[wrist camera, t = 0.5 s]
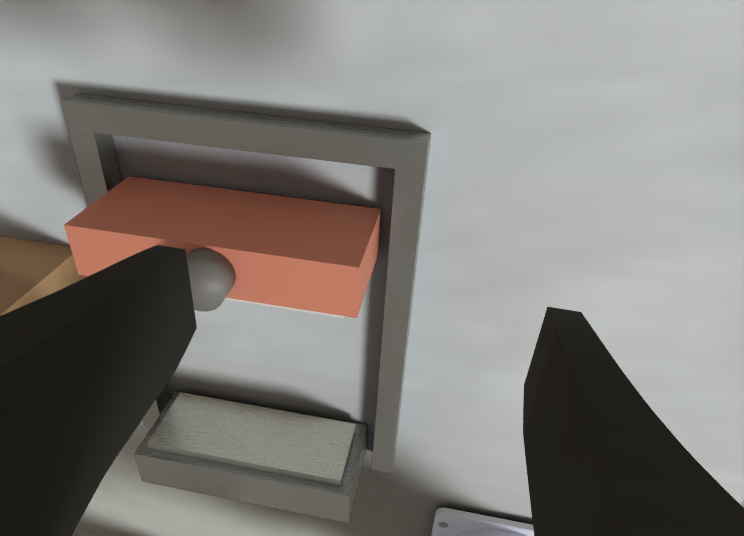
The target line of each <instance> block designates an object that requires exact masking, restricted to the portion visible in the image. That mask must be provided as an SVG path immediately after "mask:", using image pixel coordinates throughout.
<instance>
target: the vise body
mask: <svg viewBox="0 0 744 536" xmlns="http://www.w3.org/2000/svg"><path fill="white" fill-rule="evenodd" d="M61 104H62V108H63V112H64V116H65V120H66V123H67V127H68V131H69V135H70V139H71V143H72V147H73V150H74V154H75V158H76V162H77V166H78V170H79V174H80V177H81V181H82V185H83V189H84V193H85V197H86V201H87V204H88V207H89V206H90V205H91V204H93V203H94V202H95V201H97V200H98V199H99V198H101V197H102V196H103V195H104V194H106V193H107V192H108V191H110V190H111V189H112V188H114V187H115V186H116V185H118V184H119V183H120V182H122V180H121V176H120V171H119V166H118V162H117V157H116V153H115V148H114V143H113V139H112V135H120V136H128V137H136V138H145V139H153V140H161V141H169V142H178V143H186V144H194V145H202V146H210V147H219V148H227V149H235V150H243V151H252V152H260V153H268V154H276V155H285V156H293V157H301V158H309V159H318V160H326V161H334V162H342V163H350V164H359V165H367V166H375V167H383V168H392V169H395V177H394V190H393V203H392V216H391V229H390V241H389V254H388V267H387V280H386V293H385V305H384V318H383V331H382V344H381V357H380V369H379V382H378V395H377V408H376V421H375V433H374V446H373V459H372V470H376V471H381V472H386V473H391V474H392V469H393V463H394V458H395V450H396V441H397V432H398V423H399V414H400V405H401V396H402V387H403V378H404V369H405V360H406V351H407V342H408V333H409V324H410V315H411V307H412V298H413V289H414V280H415V271H416V262H417V253H418V244H419V235H420V226H421V217H422V208H423V199H424V190H425V181H426V173H427V164H428V155H429V146H430V137H431V133H423V132H414V131H405V130H397V129H388V128H379V127H370V126H361V125H352V124H343V123H334V122H325V121H317V120H308V119H299V118H290V117H281V116H272V115H263V114H254V113H246V112H237V111H228V110H219V109H210V108H201V107H192V106H183V105H174V104H166V103H157V102H148V101H139V100H130V99H121V98H112V97H103V96H94V95H86V94H76V95H74V96H72V97H70V98H68V99H66V100H64V101H61ZM143 420H144V424H145V427H149V428H151V429H150V431H149V432H148V434H147V435H146V437H145V438H144V440H143V441H142V443H141V444H140V446H139V447H138V449H137V451H136V452H135V454H134V455H135V458H136V462H137V465H138V469H139V472H140V476H141V479H142V481H143V482H148V483H153V484H158V485H163V486H168V487H173V488H178V489H183V490H187V491H192V492H197V493H202V494H207V495H212V496H217V497H222V498H227V499H232V500H237V501H242V502H247V503H252V504H256V505H261V506H266V507H271V508H276V509H281V510H286V511H291V512H296V513H301V514H306V515H311V516H316V517H320V518H325V519H330V520H335V521H340V522H345V523H349V520H350V515H351V511H352V507H353V503H354V498H355V494H356V490H357V486H358V482H359V477H360V473H361V469H362V465H363V460H364V456H365V452H366V438H367V425H364V424H359V423H353V422H348V421H342V420H337V419H331V418H325V417H320V416H314V415H309V414H303V413H298V412H292V411H287V410H281V409H275V408H270V407H264V406H259V405H253V404H248V403H242V402H237V401H231V400H225V399H220V398H214V397H209V396H203V395H198V394H192V393H187V392H181V391H175V392H174V394H173V395H172V397H171V398H170V400H169V398H168V393H167V389H166V385H165V387H164V388H163V390H162V391H161V393H160V394H159V395H158V397H157V398H156V400H155V401H154V403H153V404H152V406H151V407H150V409H149V410H148V412H147V413H146V414H145V416H144V417H143Z"/></svg>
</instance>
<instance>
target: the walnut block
mask: <svg viewBox="0 0 744 536" xmlns="http://www.w3.org/2000/svg"><path fill="white" fill-rule="evenodd" d="M86 277H88V276H84V275H78V271H77V268H76V264H75V261H74V258H73V254H72V251H71V247H69V246H62V245H56V244H50V243H43V242H37V241H30V240H24V239H17V238H11V237H5V236H0V316H1V315H3V314H6V313H8V312H10V311H13V310H15V309H17V308H20V307H22V306H24V305H26V304H29V303H31V302H33V301H36V300H38V299H40V298H43V297H45V296H47V295H49V294H52V293H54V292H56V291H58V290H61V289H63V288H65V287H67V286H69V285H71V284H73V283H75V282H77V281H80V280H82V279H84V278H86Z"/></svg>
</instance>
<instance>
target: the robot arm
mask: <svg viewBox="0 0 744 536" xmlns="http://www.w3.org/2000/svg"><path fill="white" fill-rule="evenodd" d="M196 328H197V327H196V320H195V313H194V306H193V299H192V292H191V284H190V277H189V270H188V263H187V256H186V249H180V248H174V247H168V246H162V245H156V246H153V247H151V248H148V249H146V250H143V251H141V252H139V253H136V254H134V255H132V256H130V257H128V258H126V259H123V260H121V261H119V262H117V263H115V264H113V265H111V266H109V267H107V268H105V269H103V270H101V271H98V272H96V273H94V274H92V275H90V276H88V277H86V278H84V279H82V280H80V281H77V282H75V283H73V284H71V285H69V286H67V287H65V288H63V289H61V290H58V291H56V292H54V293H52V294H49V295H47V296H45V297H43V298H40V299H38V300H36V301H33V302H31V303H29V304H26V305H24V306H22V307H20V308H17V309H15V310H13V311H10V312H8V313H6V314H3V315H1V316H0V536H72V534H73V532H74V530H75V528H76V526H77V524H78V522H79V521H80V519H81V517H82V515H83V513H84V512H85V510H86V508H87V506H88V504H89V502H90V501H91V499H92V497H93V495H94V493H95V491H96V490H97V488H98V486H99V484H100V482H101V480H102V479H103V477H104V475H105V474H106V472H107V471H108V469H109V467H110V466H111V464H112V463H113V461H114V460H115V458H116V456H117V455H118V454H119V452H120V451H121V449H122V448H123V446H124V445H125V443H126V442H127V441H128V439H129V438H130V436H131V435H132V433H133V432H134V430H135V429H136V427H137V426H138V425H139V423H140V422H141V420H142V419H143V417H144V416H145V414H146V413H147V412H148V410H149V409H150V407H151V406H152V404H153V403H154V401H155V400H156V398H157V397H158V395H159V394H160V393H161V391H162V390H163V388H164V387H165V385H166V384H167V382H168V381H169V379H170V378H171V376H172V375H173V373H174V372H175V370H176V369H177V367H178V365H179V363H180V361H181V359H182V357H183V355H184V353H185V351H186V349H187V347H188V345H189V343H190V341H191V339H192V336H193V334H194V332H195V330H196ZM523 436H524V446H525V456H526V465H527V474H528V484H529V493H530V502H531V511H532V520H533V525H532V524H527V523H522V522H516V521H511V520H506V519H501V518H496V517H491V516H486V515H481V514H476V513H470V512H465V511H460V510H455V509H450V508H439V509H437V510H436V513H435V518H434V523H433V528H432V534H431V536H744V508H743V507H742V506H741V505H740V504H739V503H738V502H737V501H736V500H735V499H734V498H733V497H732V496H731V495H730V494H729V493H728V492H727V491H726V490H725V489H724V488H723V487H722V486H721V485H720V484H719V483H718V482H717V481H716V480H715V479H714V478H713V477H712V476H711V475H710V474H709V473H708V472H707V471H706V470H705V469H704V468H703V467H702V466H701V465H700V464H699V463H698V462H697V461H696V460H695V459H694V458H693V457H692V455H691V454H690V453H689V452H688V451H687V450H686V449H685V448H684V447H683V446H682V445H681V443H680V442H679V441H678V440H677V439H676V438H675V437H674V435H673V434H672V433H671V432H670V431H669V429H668V428H667V427H666V426H665V425H664V424H663V422H662V421H661V420H660V419H659V418H658V417H657V415H656V414H655V413H654V412H653V411H652V409H651V408H650V407H649V406H648V404H647V403H646V402H645V401H644V399H643V398H642V397H641V395H640V394H639V393H638V391H637V390H636V389H635V387H634V386H633V385H632V384H631V382H630V381H629V380H628V378H627V377H626V376H625V374H624V373H623V371H622V370H621V369H620V367H619V366H618V364H617V363H616V362H615V360H614V359H613V357H612V356H611V355H610V353H609V352H608V350H607V349H606V347H605V346H604V344H603V343H602V342H601V340H600V339H599V337H598V336H597V334H596V333H595V331H594V330H593V328H592V327H591V326H590V324H589V323H588V321H587V320H586V318H585V317H584V316H583V314H582V313H581V312H577V311H571V310H564V309H558V308H552V307H547V311H546V314H545V317H544V321H543V324H542V327H541V331H540V334H539V337H538V341H537V344H536V347H535V351H534V354H533V357H532V361H531V364H530V367H529V371H528V374H527V377H526V381H525V384H524V408H523Z"/></svg>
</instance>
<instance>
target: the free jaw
mask: <svg viewBox="0 0 744 536" xmlns="http://www.w3.org/2000/svg"><path fill="white" fill-rule="evenodd" d="M380 217H381V209H376V208H368V207H361V206H353V205H345V204H338V203H330V202H322V201H315V200H307V199H300V198H292V197H284V196H277V195H269V194H261V193H254V192H246V191H238V190H231V189H223V188H215V187H208V186H200V185H193V184H185V183H177V182H170V181H162V180H154V179H147V178H139V177H131V176H128V177H127V178H126V179H124V180H123V181H122V182H120V183H119V184H118V185H116V186H115V187H114V188H112V189H111V190H110V191H108V192H107V193H106V194H104V195H103V196H102V197H101V198H99V199H98V200H97V201H95V202H94V203H93V204H91V205H90V206H89V207H87V208H86V209H85V210H83V211H82V212H81V213H79V214H78V215H77V216H75V217H74V218H73V219H71V220H70V221H69V222H67V223H66V224H65V225H64V227H65V230H66V234H67V237H68V240H69V244H70V247H71V251H72V254H73V258H74V261H75V264H76V268H77V271H78V275H84V276H90V275H92V274H94V273H96V272H98V271H101V270H103V269H105V268H107V267H109V266H111V265H113V264H115V263H117V262H119V261H121V260H123V259H126V258H128V257H130V256H132V255H134V254H136V253H139V252H141V251H143V250H146V249H148V248H151V247H153V246H156V245H162V246H168V247H174V248H180V249H186V256H187V263H188V270H189V277H190V284H191V292H192V299H193V306H194V310H198V311H212V310H214V309H216V308H218V307H219V306H220V305H221V304H222V302H223V301H224V299H227V300H234V301H240V302H246V303H253V304H259V305H266V306H272V307H278V308H285V309H291V310H298V311H304V312H310V313H317V314H323V315H329V316H336V317H342V318H345V316H347V317H353V318H357V317H358V314H359V311H360V308H361V305H362V302H363V299H364V296H365V293H366V290H367V287H368V284H369V281H370V278H371V275H372V272H373V269H374V266H375V263H376V260H377V257H378V248H379V232H380Z"/></svg>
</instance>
